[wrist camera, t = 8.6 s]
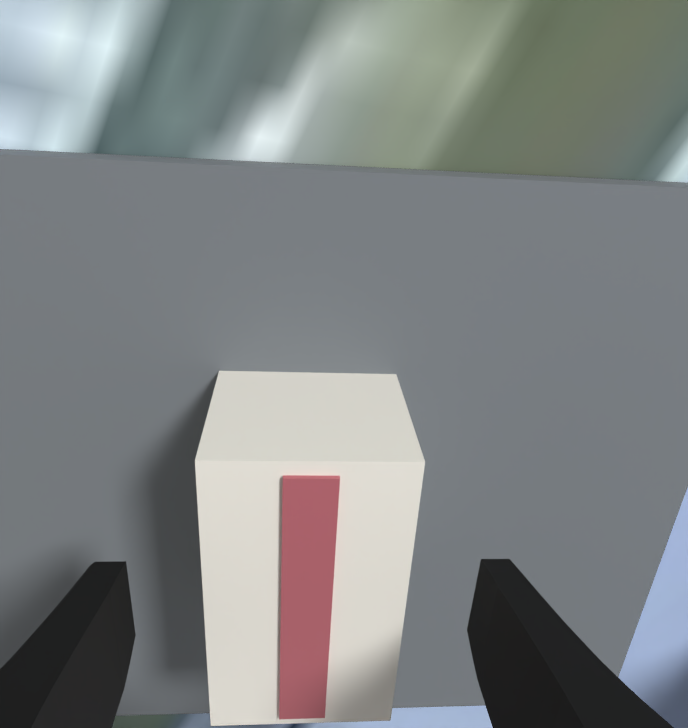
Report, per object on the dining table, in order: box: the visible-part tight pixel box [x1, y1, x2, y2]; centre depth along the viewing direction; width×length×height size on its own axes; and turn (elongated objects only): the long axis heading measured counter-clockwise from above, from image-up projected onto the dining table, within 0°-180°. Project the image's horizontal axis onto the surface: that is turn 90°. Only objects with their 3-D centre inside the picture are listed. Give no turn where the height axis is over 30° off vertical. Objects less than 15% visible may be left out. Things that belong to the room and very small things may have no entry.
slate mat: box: [0, 149, 688, 716], centre depth 16 cm, size 20×16×1 cm
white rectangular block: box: [195, 371, 425, 726], centre depth 14 cm, size 7×4×4 cm, turn 177°
